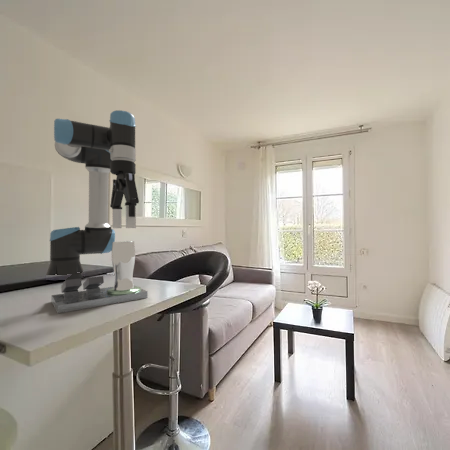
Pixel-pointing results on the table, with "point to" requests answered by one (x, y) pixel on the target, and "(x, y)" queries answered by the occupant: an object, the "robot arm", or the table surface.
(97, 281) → the rocker plain
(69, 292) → the switch panel
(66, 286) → the rocker tagged
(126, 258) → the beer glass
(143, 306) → the table surface
